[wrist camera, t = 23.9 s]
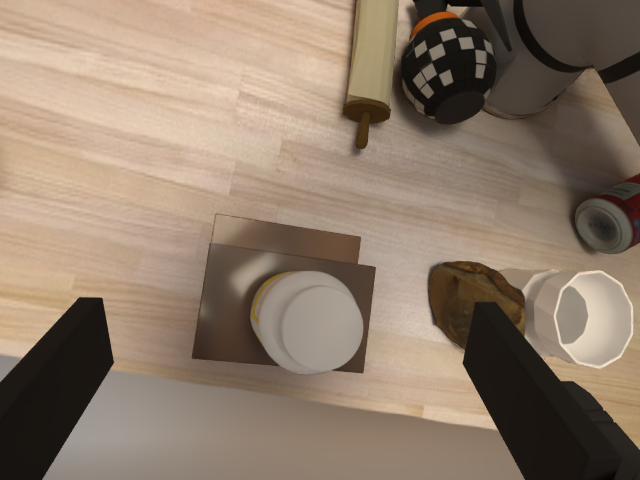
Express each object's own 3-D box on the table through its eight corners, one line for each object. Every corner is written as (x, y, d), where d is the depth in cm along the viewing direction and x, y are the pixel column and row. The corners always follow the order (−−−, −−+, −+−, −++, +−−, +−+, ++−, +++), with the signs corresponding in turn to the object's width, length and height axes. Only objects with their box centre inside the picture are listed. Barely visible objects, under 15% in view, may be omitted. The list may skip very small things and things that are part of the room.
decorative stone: (541, 280, 40) (517, 280, 38) (520, 375, 41) (496, 379, 39) (456, 255, 49) (433, 254, 47) (441, 334, 50) (418, 335, 48)
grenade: (539, 95, 43) (494, -17, 48) (514, 50, 36) (464, -77, 41) (435, 146, 50) (405, 42, 54) (396, 116, 42) (364, 0, 47)
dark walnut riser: (348, 239, 46) (380, 232, 37) (334, 353, 45) (363, 373, 36) (215, 218, 43) (215, 205, 34) (196, 340, 42) (191, 358, 33)
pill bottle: (322, 355, 35) (372, 393, 24) (243, 348, 34) (257, 386, 23) (332, 276, 36) (385, 278, 25) (255, 266, 35) (274, 263, 23)
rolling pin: (377, 159, 47) (396, 146, 42) (328, 151, 46) (341, 137, 41) (399, -109, 50) (419, -150, 45) (354, -124, 49) (369, -167, 44)
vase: (504, 253, 50) (591, 248, 39) (551, 305, 51) (650, 316, 40) (458, 308, 48) (535, 320, 37) (508, 361, 49) (598, 389, 38)
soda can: (634, 166, 55) (563, 201, 52) (697, 160, 49) (619, 199, 45) (646, 217, 57) (577, 254, 53) (709, 218, 50) (634, 260, 47)
